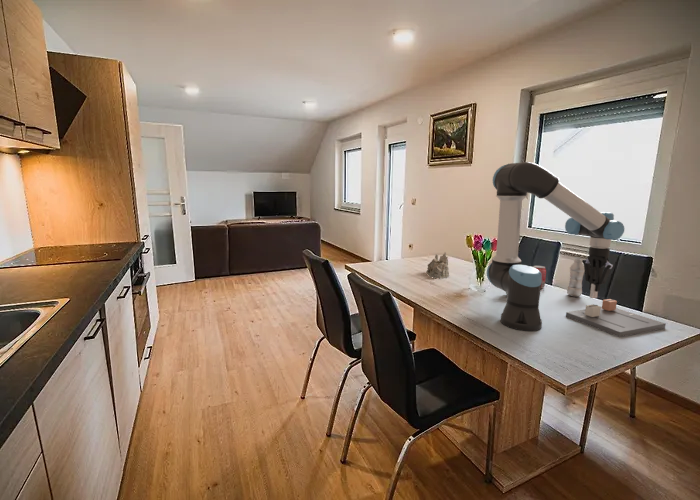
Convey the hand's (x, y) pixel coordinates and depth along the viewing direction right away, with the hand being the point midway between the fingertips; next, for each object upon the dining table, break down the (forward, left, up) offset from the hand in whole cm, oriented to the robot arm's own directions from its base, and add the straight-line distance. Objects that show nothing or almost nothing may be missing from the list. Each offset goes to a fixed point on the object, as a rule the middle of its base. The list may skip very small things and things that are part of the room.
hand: (593, 297), depth 157 cm
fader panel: (-7, -14, -5) cm, 17 cm away
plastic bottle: (+10, +17, -6) cm, 20 cm away
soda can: (+5, +35, -6) cm, 35 cm away
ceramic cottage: (-33, +77, -6) cm, 84 cm away
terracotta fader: (0, -7, -3) cm, 8 cm away
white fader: (-14, -10, -3) cm, 18 cm away
